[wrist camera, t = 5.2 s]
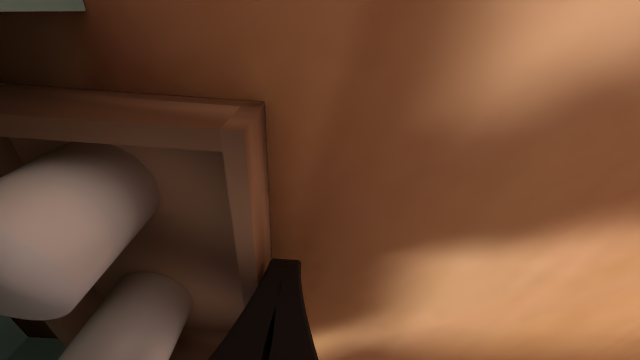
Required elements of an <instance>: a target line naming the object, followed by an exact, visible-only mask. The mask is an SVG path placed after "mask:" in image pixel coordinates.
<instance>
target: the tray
mask: <svg viewBox="0 0 640 360" xmlns="http://www.w3.org/2000/svg"><path fill="white" fill-rule="evenodd" d="M71 141H72V142H86V143H101V144H112V145H114V146H117V147H119V148H121V149H123V150H125V151H126V152H128V153H129V154H131V155H132V156H134V157H135V158H136V159H138V160H139V161H140V162H141V163H142V164H143V165H144V166H145V167H146V168H147V169H148V170H149V172H150V173H151V174H152V176H153V177H154V179H155V181H156V183H157V186H158V188H159V193H160V203H159V207H158V209H157V211H156V212H155V213H154V215H153V216H152V217H151V218H150V219H149V220H148V222H147V223H146V224H145V225H144V226H143V227H142V229H141V230H140V231H139V232H138V233H137V235H136V236H135V237H134V238H133V239H132V240H131V242H130V243H129V244H128V245H127V246H126V247H125V249H124V250H123V251H122V252H121V253H120V255H119V256H118V257H117V258H116V259H115V260H114V262H113V263H112V264H111V265H110V266H109V267H108V269H107V270H106V271H105V272H104V273H103V275H102V276H101V277H100V278H99V279H98V280H97V282H96V283H95V284H94V285H93V286H92V287H91V289H90V290H89V291H88V292H87V293H86V295H85V296H84V297H83V298H82V299H81V300H80V302H79V303H78V304H77V305H76V306H75V307H74V309H73V310H72V311H71V312H70V313H68V314H67V315H65V316H62V317H59V318H56V319H50V320H44V322H45V323H46V324H47V325H48V326H49V328H50V329H51V330H52V331H53V333H54V334H55V335H56V336H57V338H58V339H59V340H60V341H61V343H62V344H63V345H64V346H65V347H66V348H67V347H68V346H69V344H70V343H71V342H72V340H73V339H74V338H75V336H76V335H77V334H78V333H79V331H80V330H81V329H82V327H83V326H84V325H85V323H86V322H87V321H88V320H89V318H90V317H91V316H92V314H93V313H94V312H95V310H96V309H97V308H98V306H99V305H100V304H101V303H102V301H103V300H104V299H105V297H106V296H107V295H108V293H109V292H110V291H111V290H112V288H113V287H114V286H115V284H116V283H117V282H118V280H119V279H120V278H122V277H123V276H125V275H127V274H130V273H135V272H149V273H155V274H159V275H163V276H166V277H168V278H170V279H173V280H174V281H176V282H178V283H179V284H181V285H182V286H183V287H185V288H186V289H187V290H188V292H189V293H190V295H191V296H192V299H193V307H192V309H191V312H190V314H189V316H188V318H187V320H186V323H185V325H184V327H183V329H182V332H181V334H180V336H179V338H178V340H177V343H176V345H175V347H174V349H173V352H172V354H171V356H170V358H169V360H208V359H209V358H210V356H211V355H212V354H213V353H214V351H215V350H216V349H217V347H218V346H219V345H220V343H221V342H222V341H223V339H224V338H225V337H226V335H227V334H228V332H229V331H230V329H231V328H232V326H233V325H234V323H235V322H236V321H237V319H238V318H239V316H240V315H241V313H242V312H243V310H244V308H245V307H246V305H247V304H248V302H249V300H250V299H251V297H252V295H253V294H254V292H255V290H256V288H257V287H258V285H259V283H260V281H261V279H262V277H263V275H264V273H265V271H266V269H267V267H268V265H269V262H270V260H272V257H271V235H270V212H269V189H268V166H267V144H266V121H265V102H258V101H244V100H230V99H215V98H201V97H187V96H173V95H159V94H144V93H130V92H116V91H102V90H88V89H74V88H59V87H45V86H31V85H17V84H3V83H0V177H2V176H4V175H6V174H8V173H10V172H12V171H14V170H16V169H18V168H20V167H22V166H24V165H26V164H28V163H30V162H32V161H34V160H35V159H37V158H39V157H41V156H43V155H45V154H47V153H49V152H51V151H53V150H55V149H57V148H59V147H61V146H63V145H65V144H67V143H69V142H71Z"/></svg>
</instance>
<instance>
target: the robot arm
mask: <svg viewBox="0 0 640 360" xmlns="http://www.w3.org/2000/svg"><path fill="white" fill-rule="evenodd" d="M208 360H319V359H318V356H317V353H316V349H315V346H314V342H313V339H312V335H311V331H310V327H309V323H308V319H307V314H306V309H305V304H304V299H303V293H302V284H301V262H300V261H299V260H287V259H272V260H270V262H269V265H268V267H267V269H266V271H265V273H264V275H263V277H262V279H261V281H260V283H259V285H258V287H257V288H256V290H255V292H254V294H253V295H252V297H251V299H250V300H249V302H248V304H247V305H246V307H245V308H244V310H243V312H242V313H241V315H240V316H239V318H238V319H237V321H236V322H235V323H234V325H233V326H232V328H231V329H230V331H229V332H228V334H227V335H226V337H225V338H224V339H223V341H222V342H221V343H220V345H219V346H218V347H217V349H216V350H215V351H214V353H213V354H212V355H211V356H210V358H209V359H208Z"/></svg>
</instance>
